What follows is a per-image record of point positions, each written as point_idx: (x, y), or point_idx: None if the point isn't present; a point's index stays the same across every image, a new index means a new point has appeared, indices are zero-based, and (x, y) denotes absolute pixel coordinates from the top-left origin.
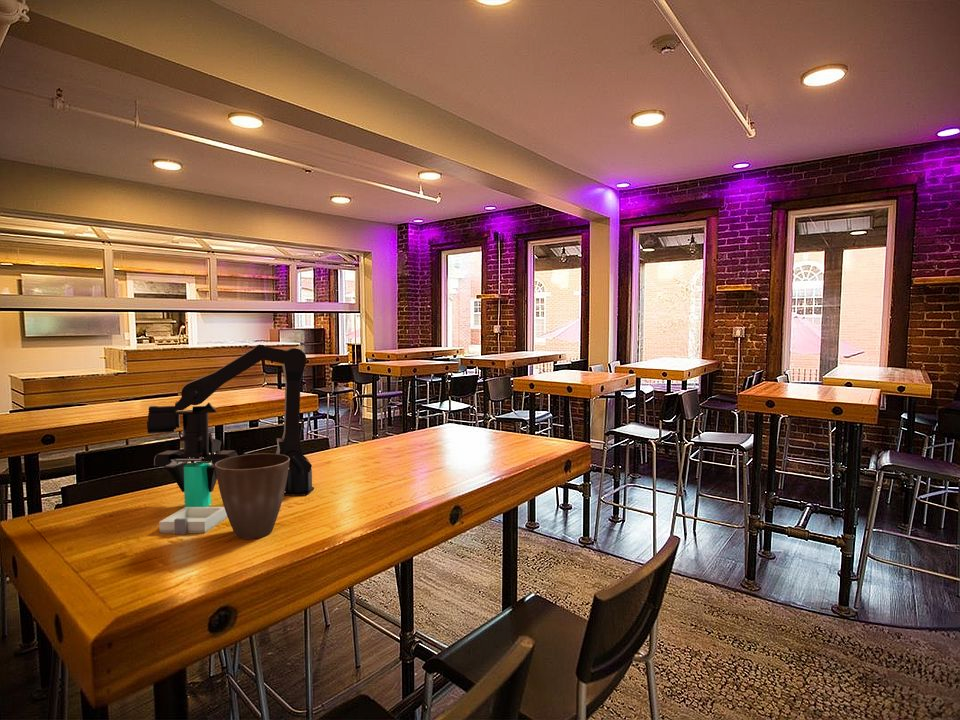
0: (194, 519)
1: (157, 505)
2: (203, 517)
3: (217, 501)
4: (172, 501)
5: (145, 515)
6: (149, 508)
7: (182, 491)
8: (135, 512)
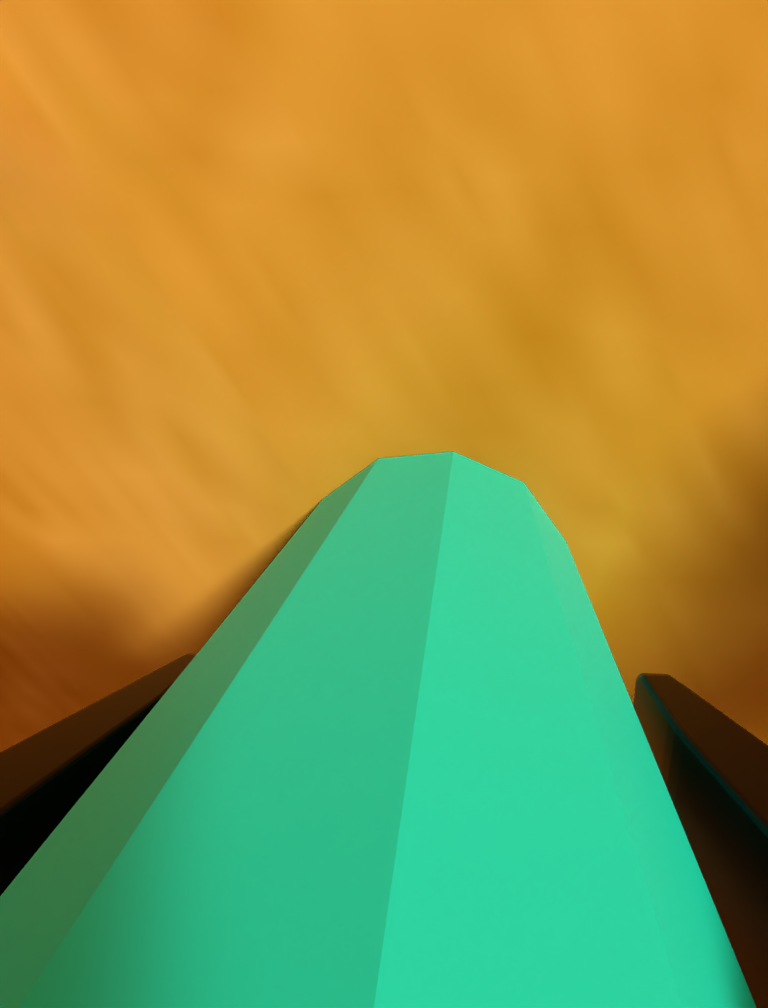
0: None
1: (24, 573)
2: None
3: (598, 434)
4: (55, 447)
5: None
6: (32, 650)
7: None
8: (16, 734)
